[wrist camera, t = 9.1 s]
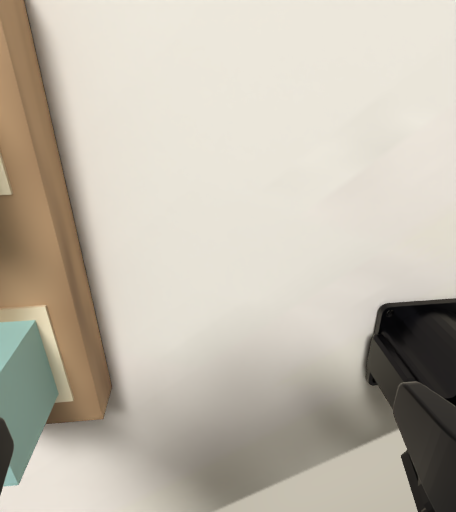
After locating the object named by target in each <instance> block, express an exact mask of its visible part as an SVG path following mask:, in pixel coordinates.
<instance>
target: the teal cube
mask: <svg viewBox="0 0 456 512" xmlns="http://www.w3.org/2000/svg"><path fill="white" fill-rule="evenodd" d="M58 394H59V393H58V390H57V387H56V384H55V381H54V377H53V374H52V371H51V368H50V365H49V362H48V358H47V355H46V352H45V349H44V346H43V343H42V339H41V336H40V333H39V330H38V327H37V324H36V320H29V321H14V322H0V417H1V418H3V419H4V420H5V422H6V425H7V427H8V429H9V432H10V434H11V436H12V438H13V441H14V451H13V455H12V458H11V462H10V465H9V468H8V471H7V475H6V478H5V481H4V485H3V486H13V485H19V483H20V481H21V478H22V476H23V474H24V471H25V469H26V467H27V465H28V462H29V460H30V458H31V455H32V453H33V451H34V449H35V446H36V444H37V442H38V440H39V437H40V435H41V433H42V430H43V428H44V426H45V424H46V421H47V419H48V417H49V414H50V412H51V410H52V408H53V405H54V403H55V401H56V398H57V396H58Z"/></svg>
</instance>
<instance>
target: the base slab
mask: <svg viewBox="0 0 456 512" xmlns="http://www.w3.org/2000/svg"><path fill="white" fill-rule="evenodd" d="M29 320H36V324H37V327H38V330H39V333H40V336H41V339H42V343H43V346H44V349H45V352H46V355H47V358H48V362H49V365H50V368H51V371H52V374H53V377H54V381H55V384H56V387H57V390H58V393H59V394H58V396H57V398H56V401H55V403H54V405H53V408H52V410H51V412H50V414H49V417H48V419H47V421H46V424H52V423H63V422H75V421H86V420H98V419H103V418H104V414H105V410H106V407H107V403H108V399H109V396H110V392H111V388H112V385H111V380H110V376H109V372H108V367H107V363H106V358H105V354H104V350H103V345H102V341H101V336H100V332H99V328H98V323H97V319H96V314H95V310H94V306H93V301H92V297H91V293H90V288H89V284H88V279H87V275H86V271H85V266H84V262H83V257H82V253H81V249H80V244H79V240H78V236H77V231H76V227H75V222H74V218H73V214H72V209H71V205H70V200H69V196H68V192H67V187H66V183H65V178H64V174H63V170H62V165H61V161H60V157H59V152H58V148H57V143H56V139H55V135H54V130H53V126H52V121H51V117H50V113H49V108H48V104H47V99H46V95H45V91H44V86H43V82H42V78H41V73H40V69H39V64H38V60H37V56H36V51H35V47H34V42H33V38H32V34H31V29H30V25H29V21H28V16H27V12H26V7H25V3H24V0H0V322H14V321H29Z"/></svg>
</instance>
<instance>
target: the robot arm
mask: <svg viewBox="0 0 456 512" xmlns="http://www.w3.org/2000/svg"><path fill="white" fill-rule="evenodd" d="M389 310H390V312H388V311H389ZM386 312H388V313H386ZM366 379H367V381H368V382H369V384H370V385H378V386H379V387H380V389H381V391H382V392H383V394H384V396H385V397H386V399H387V401H388V402H389V404H390V405H391V407H392V409H393V414H394V417H395V420H396V422H397V425H398V427H399V430H400V432H401V435H402V437H403V440H404V442H405V445H406V447H407V451H406V452H404V453H403V454H402V455H401V458H402V461H403V465H404V468H405V471H406V474H407V478H408V481H409V484H410V487H411V491H412V493H413V497H414V500H415V503H416V507H417V510H418V512H456V299H442V300H428V301H414V302H399V303H387V304H384V305H382V306H381V307H380V309H379V313H378V318H377V323H376V328H375V333H374V335H373V337H372V340H371V345H370V350H369V355H368V361H367V374H366ZM13 451H14V441H13V438H12V436H11V434H10V432H9V429H8V427H7V425H6V422H5V420H4V419H3V418H1V417H0V495H1V491H2V488H3V485H4V481H5V478H6V475H7V471H8V468H9V465H10V462H11V458H12V455H13Z"/></svg>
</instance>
